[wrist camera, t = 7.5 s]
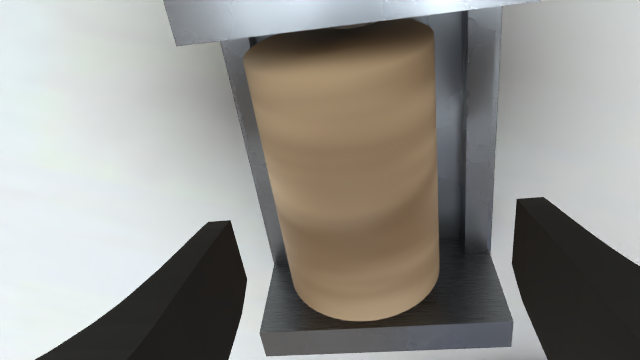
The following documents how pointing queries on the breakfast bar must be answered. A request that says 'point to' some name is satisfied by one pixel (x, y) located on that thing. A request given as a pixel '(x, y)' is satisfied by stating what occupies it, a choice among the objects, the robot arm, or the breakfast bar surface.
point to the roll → (352, 162)
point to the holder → (452, 169)
